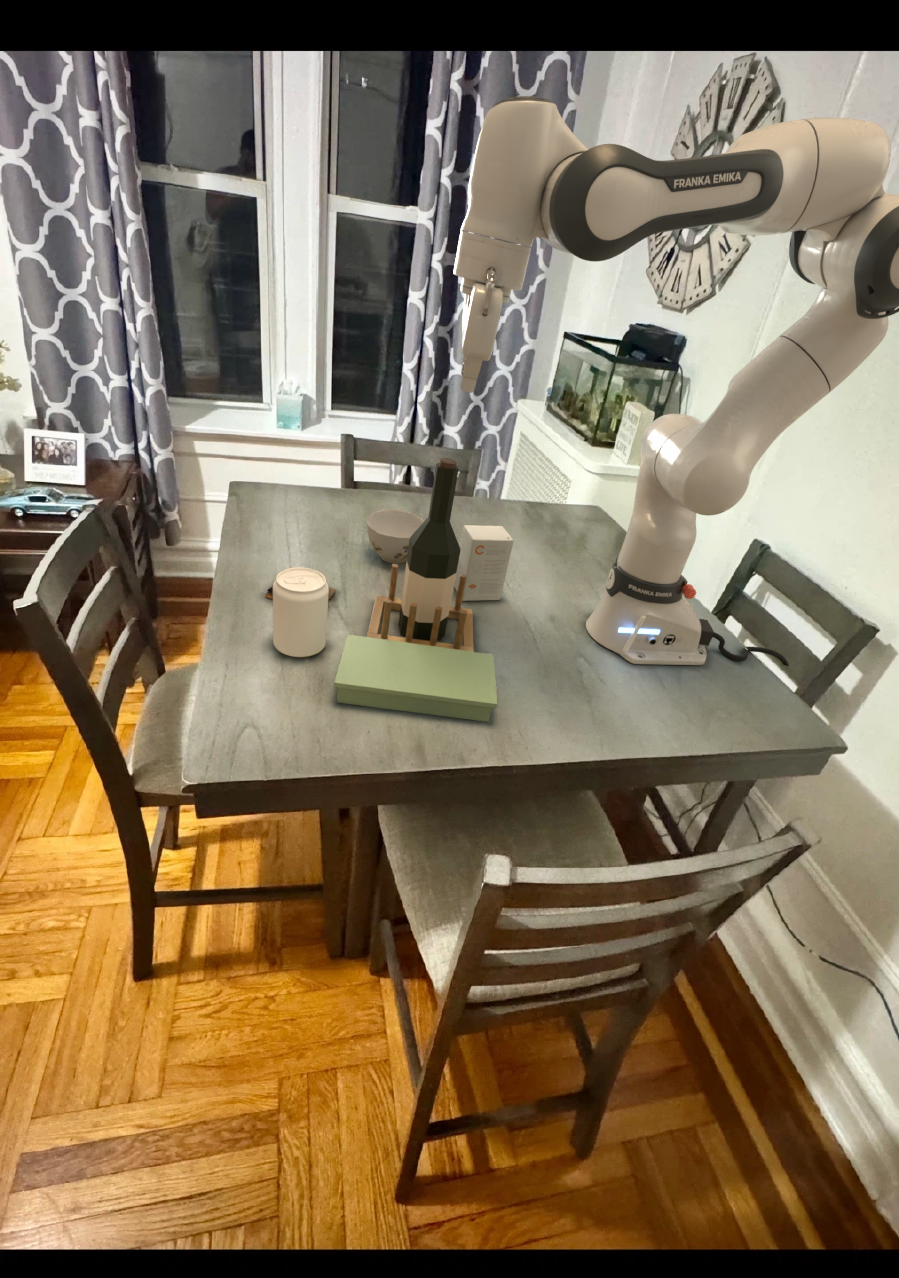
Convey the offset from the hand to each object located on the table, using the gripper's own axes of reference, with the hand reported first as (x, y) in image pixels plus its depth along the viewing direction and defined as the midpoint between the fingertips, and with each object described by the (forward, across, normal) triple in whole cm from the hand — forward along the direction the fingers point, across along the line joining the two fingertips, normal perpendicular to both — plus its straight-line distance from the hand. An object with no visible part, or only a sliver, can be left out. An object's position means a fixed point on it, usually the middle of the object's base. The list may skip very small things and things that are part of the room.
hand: (466, 383), depth 82 cm
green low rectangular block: (+41, -17, -1) cm, 44 cm away
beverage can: (+42, -10, +18) cm, 47 cm away
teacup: (+41, +25, +5) cm, 49 cm away
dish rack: (+41, -1, -1) cm, 41 cm away
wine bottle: (+41, -1, -1) cm, 41 cm away
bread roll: (+42, +5, +21) cm, 47 cm away
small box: (+40, +15, -11) cm, 45 cm away
